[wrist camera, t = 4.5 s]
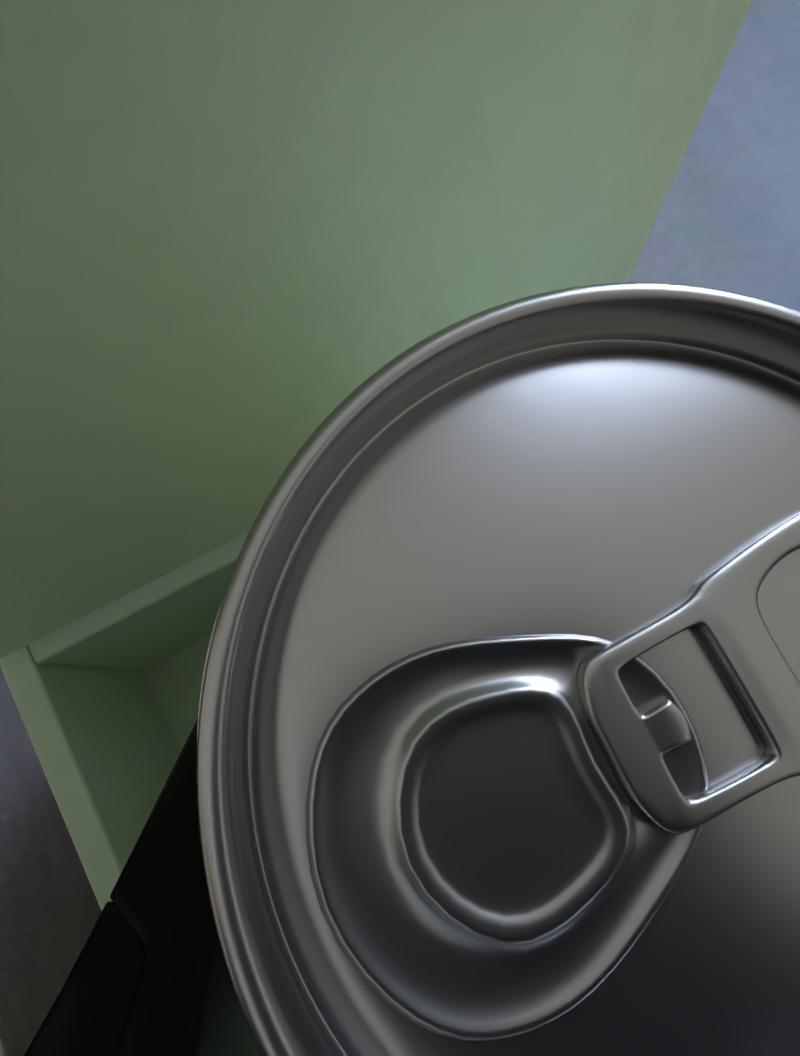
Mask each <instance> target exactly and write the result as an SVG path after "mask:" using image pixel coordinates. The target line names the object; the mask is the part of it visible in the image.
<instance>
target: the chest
mask: <svg viewBox="0 0 800 1056" xmlns="http://www.w3.org/2000/svg"><path fill="white" fill-rule="evenodd" d="M248 533H249V532H248ZM248 533H246V534H244V535H242V536H240V537H238V538H236V539H234V540H232V541H230V542H228V543H226V544H224V545H222V546H220V547H218V548H217V549H215V550H213V551H211V552H209V553H207V554H205V555H203V556H201V557H199V558H197V559H195V560H193V561H191V562H189V563H187V564H185V565H183V566H181V567H179V568H177V569H175V570H173V571H171V572H170V573H168V574H166V575H164V576H162V577H160V578H158V579H156V580H154V581H152V582H150V583H148V584H146V585H144V586H142V587H140V588H138V589H136V590H134V591H132V592H130V593H128V594H126V595H124V596H123V597H121V598H119V599H117V600H115V601H113V602H111V603H109V604H107V605H105V606H103V607H101V608H99V609H97V610H95V611H93V612H91V613H89V614H87V615H85V616H83V617H81V618H79V619H78V620H76V621H74V622H72V623H70V624H68V625H66V626H64V627H62V628H60V629H58V630H56V631H54V632H52V633H50V634H48V635H46V636H44V637H42V638H40V639H38V640H36V641H34V642H32V643H31V644H29V645H27V646H25V647H23V648H21V649H19V650H17V651H15V652H13V653H11V654H9V655H7V656H5V657H3V658H1V659H0V667H1V670H2V672H3V674H4V677H5V679H6V682H7V684H8V687H9V689H10V691H11V694H12V696H13V699H14V701H15V703H16V706H17V708H18V711H19V713H20V715H21V718H22V720H23V723H24V725H25V728H26V730H27V732H28V735H29V737H30V740H31V742H32V744H33V747H34V749H35V752H36V754H37V756H38V759H39V761H40V764H41V766H42V769H43V771H44V773H45V776H46V778H47V781H48V783H49V785H50V788H51V790H52V793H53V795H54V797H55V800H56V802H57V805H58V807H59V810H60V812H61V814H62V817H63V819H64V822H65V824H66V826H67V829H68V831H69V834H70V836H71V838H72V841H73V843H74V846H75V848H76V851H77V853H78V855H79V858H80V860H81V863H82V865H83V867H84V870H85V872H86V875H87V877H88V879H89V882H90V884H91V887H92V889H93V892H94V894H95V896H96V899H97V901H98V904H99V906H100V908H101V911H102V910H103V908H104V906H105V904H106V903H107V902H108V901H112V900H111V898H110V894H111V892H112V890H113V888H114V886H115V884H116V882H117V880H118V878H119V876H120V874H121V872H122V870H123V868H124V866H125V864H126V862H127V860H128V858H129V856H130V854H131V852H132V850H133V848H134V846H135V844H136V842H137V840H138V838H139V836H140V834H141V832H142V830H143V828H144V826H145V824H146V822H147V820H148V818H149V816H150V814H151V811H152V809H153V807H154V805H155V803H156V801H157V799H158V797H159V795H160V793H161V791H162V789H163V787H164V785H165V783H166V781H167V779H168V777H169V775H170V773H171V771H172V769H173V767H174V765H175V763H176V761H177V759H178V757H179V755H180V753H181V751H182V749H183V747H184V745H185V743H186V741H187V739H188V737H189V735H190V733H191V731H192V729H193V727H194V725H195V723H196V721H197V719H198V711H199V701H200V692H201V685H202V678H203V672H204V666H205V661H206V656H207V652H208V647H209V643H210V639H211V635H212V631H213V627H214V624H215V621H216V618H217V614H218V611H219V608H220V605H221V602H222V600H223V596H224V593H225V590H226V587H227V584H228V582H229V579H230V576H231V573H232V571H233V568H234V565H235V563H236V561H237V558H238V556H239V553H240V551H241V549H242V546H243V544H244V542H245V540H246V537H247V535H248ZM112 902H113V901H112Z"/></svg>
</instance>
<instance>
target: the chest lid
mask: <svg viewBox="0 0 800 1056" xmlns="http://www.w3.org/2000/svg"><path fill="white" fill-rule="evenodd" d="M752 1H753V0H0V659H1V658H3V657H5V656H7V655H9V654H11V653H13V652H15V651H17V650H19V649H21V648H23V647H25V646H27V645H29V644H31V643H32V642H34V641H36V640H38V639H40V638H42V637H44V636H46V635H48V634H50V633H52V632H54V631H56V630H58V629H60V628H62V627H64V626H66V625H68V624H70V623H72V622H74V621H76V620H78V619H79V618H81V617H83V616H85V615H87V614H89V613H91V612H93V611H95V610H97V609H99V608H101V607H103V606H105V605H107V604H109V603H111V602H113V601H115V600H117V599H119V598H121V597H123V596H124V595H126V594H128V593H130V592H132V591H134V590H136V589H138V588H140V587H142V586H144V585H146V584H148V583H150V582H152V581H154V580H156V579H158V578H160V577H162V576H164V575H166V574H168V573H170V572H171V571H173V570H175V569H177V568H179V567H181V566H183V565H185V564H187V563H189V562H191V561H193V560H195V559H197V558H199V557H201V556H203V555H205V554H207V553H209V552H211V551H213V550H215V549H217V548H218V547H220V546H222V545H224V544H226V543H228V542H230V541H232V540H234V539H236V538H238V537H240V536H242V535H244V534H246V533H248V532H249V531H250V529H251V527H252V525H253V523H254V521H255V519H256V517H257V515H258V513H259V512H260V510H261V508H262V506H263V504H264V502H265V501H266V499H267V497H268V496H269V494H270V492H271V491H272V489H273V487H274V486H275V484H276V482H277V481H278V479H279V478H280V476H281V475H282V473H283V472H284V470H285V469H286V467H287V466H288V464H289V463H290V461H291V460H292V459H293V457H294V456H295V455H296V453H297V452H298V451H299V449H300V448H301V447H302V445H303V444H304V443H305V442H306V440H307V439H308V438H309V437H310V436H311V434H312V433H313V432H314V431H315V430H316V428H317V427H318V426H319V425H320V424H321V423H322V422H323V421H324V420H325V419H326V417H327V416H328V415H329V414H330V413H331V412H332V411H333V410H334V409H335V408H336V407H337V406H338V405H339V404H340V403H341V402H342V401H343V400H344V399H345V398H346V397H347V396H348V395H349V394H350V393H351V392H353V391H354V390H355V389H356V388H357V387H358V386H359V385H360V384H362V383H363V382H364V381H365V380H366V379H368V378H369V377H370V376H371V375H373V374H374V373H375V372H376V371H377V370H379V369H380V368H381V367H383V366H384V365H385V364H387V363H388V362H390V361H391V360H392V359H394V358H395V357H396V356H398V355H399V354H401V353H403V352H404V351H406V350H407V349H409V348H410V347H412V346H413V345H415V344H417V343H418V342H420V341H422V340H423V339H425V338H427V337H429V336H430V335H432V334H434V333H436V332H438V331H440V330H442V329H444V328H445V327H447V326H449V325H451V324H454V323H456V322H458V321H460V320H462V319H464V318H467V317H469V316H471V315H474V314H476V313H479V312H481V311H484V310H486V309H489V308H492V307H495V306H498V305H500V304H503V303H506V302H510V301H513V300H517V299H520V298H523V297H527V296H531V295H535V294H539V293H544V292H549V291H554V290H559V289H564V288H571V287H578V286H586V285H596V284H609V283H628V281H629V279H630V277H631V274H632V272H633V270H634V268H635V265H636V263H637V261H638V259H639V256H640V254H641V252H642V249H643V247H644V245H645V243H646V240H647V238H648V236H649V234H650V231H651V229H652V227H653V225H654V222H655V220H656V218H657V216H658V213H659V211H660V209H661V207H662V204H663V202H664V200H665V198H666V195H667V193H668V191H669V189H670V186H671V184H672V182H673V180H674V177H675V175H676V173H677V171H678V168H679V166H680V164H681V161H682V159H683V157H684V155H685V152H686V150H687V148H688V146H689V143H690V141H691V139H692V137H693V134H694V132H695V130H696V128H697V125H698V123H699V121H700V119H701V116H702V114H703V112H704V110H705V107H706V105H707V103H708V101H709V98H710V96H711V94H712V92H713V89H714V87H715V85H716V83H717V80H718V78H719V76H720V73H721V71H722V69H723V67H724V64H725V62H726V60H727V58H728V55H729V53H730V51H731V49H732V46H733V44H734V42H735V40H736V37H737V35H738V33H739V31H740V28H741V26H742V24H743V22H744V19H745V17H746V15H747V13H748V10H749V8H750V6H751V4H752Z"/></svg>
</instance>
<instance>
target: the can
mask: <svg viewBox="0 0 800 1056" xmlns="http://www.w3.org/2000/svg"><path fill="white" fill-rule="evenodd" d="M197 806H198V819H199V832H200V842H201V849H202V857H203V865H204V872H205V877H206V883H207V889H208V894H209V900H210V904H211V908H212V913H213V917H214V922H215V926H216V930H217V934H218V938H219V941H220V945H221V949H222V952H223V956H224V960H225V963H226V966H227V969H228V972H229V975H230V978H231V981H232V984H233V987H234V990H235V993H236V996H237V998H238V1001H239V1003H240V1006H241V1009H242V1011H243V1014H244V1017H245V1019H246V1022H247V1024H248V1026H249V1029H250V1031H251V1033H252V1036H253V1038H254V1040H255V1042H256V1045H257V1047H258V1049H259V1052H260V1054H261V1056H800V312H799V311H796V310H793V309H790V308H787V307H784V306H781V305H778V304H775V303H771V302H768V301H764V300H761V299H757V298H753V297H749V296H745V295H741V294H736V293H731V292H726V291H721V290H716V289H709V288H703V287H696V286H687V285H678V284H664V283H609V284H596V285H586V286H578V287H571V288H564V289H559V290H554V291H549V292H544V293H539V294H535V295H531V296H527V297H523V298H520V299H517V300H513V301H510V302H506V303H503V304H500V305H498V306H495V307H492V308H489V309H486V310H484V311H481V312H479V313H476V314H474V315H471V316H469V317H467V318H464V319H462V320H460V321H458V322H456V323H454V324H451V325H449V326H447V327H445V328H444V329H442V330H440V331H438V332H436V333H434V334H432V335H430V336H429V337H427V338H425V339H423V340H422V341H420V342H418V343H417V344H415V345H413V346H412V347H410V348H409V349H407V350H406V351H404V352H403V353H401V354H399V355H398V356H396V357H395V358H394V359H392V360H391V361H390V362H388V363H387V364H385V365H384V366H383V367H381V368H380V369H379V370H377V371H376V372H375V373H374V374H373V375H371V376H370V377H369V378H368V379H366V380H365V381H364V382H363V383H362V384H360V385H359V386H358V387H357V388H356V389H355V390H354V391H353V392H351V393H350V394H349V395H348V396H347V397H346V398H345V399H344V400H343V401H342V402H341V403H340V404H339V405H338V406H337V407H336V408H335V409H334V410H333V411H332V412H331V413H330V414H329V415H328V416H327V417H326V419H325V420H324V421H323V422H322V423H321V424H320V425H319V426H318V427H317V428H316V430H315V431H314V432H313V433H312V434H311V436H310V437H309V438H308V439H307V440H306V442H305V443H304V444H303V445H302V447H301V448H300V449H299V451H298V452H297V453H296V455H295V456H294V457H293V459H292V460H291V461H290V463H289V464H288V466H287V467H286V469H285V470H284V472H283V473H282V475H281V476H280V478H279V479H278V481H277V482H276V484H275V486H274V487H273V489H272V491H271V492H270V494H269V496H268V497H267V499H266V501H265V502H264V504H263V506H262V508H261V510H260V512H259V513H258V515H257V517H256V519H255V521H254V523H253V525H252V527H251V529H250V531H249V533H248V535H247V537H246V540H245V542H244V544H243V546H242V549H241V551H240V553H239V556H238V558H237V561H236V563H235V565H234V568H233V571H232V573H231V576H230V579H229V582H228V584H227V587H226V590H225V593H224V596H223V600H222V602H221V605H220V608H219V611H218V614H217V618H216V621H215V624H214V627H213V631H212V635H211V639H210V643H209V647H208V652H207V656H206V661H205V666H204V672H203V678H202V685H201V692H200V701H199V711H198V727H197Z"/></svg>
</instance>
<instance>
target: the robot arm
mask: <svg viewBox="0 0 800 1056" xmlns="http://www.w3.org/2000/svg"><path fill="white" fill-rule="evenodd" d="M197 727H198V719H197V721H196V723H195V725H194V727H193V729H192V731H191V733H190V735H189V737H188V739H187V741H186V743H185V745H184V747H183V749H182V751H181V753H180V755H179V757H178V759H177V761H176V763H175V765H174V767H173V769H172V771H171V773H170V775H169V777H168V779H167V781H166V783H165V785H164V787H163V789H162V791H161V793H160V795H159V797H158V799H157V801H156V803H155V805H154V807H153V809H152V811H151V814H150V816H149V818H148V820H147V822H146V824H145V826H144V828H143V830H142V832H141V834H140V836H139V838H138V840H137V842H136V844H135V846H134V848H133V850H132V852H131V854H130V856H129V858H128V860H127V862H126V864H125V866H124V868H123V870H122V872H121V874H120V876H119V878H118V880H117V882H116V884H115V886H114V888H113V890H112V892H111V894H110V898H111V900H112V901H113V902H112V901H108V902H107V903H106V904H105V906H104V908H103V910H102V912H101V914H100V916H99V918H98V920H97V922H96V924H95V926H94V928H93V930H92V932H91V934H90V936H89V938H88V940H87V942H86V944H85V946H84V948H83V950H82V952H81V953H80V955H79V957H78V959H77V961H76V963H75V965H74V967H73V969H72V971H71V973H70V975H69V976H68V978H67V980H66V982H65V984H64V986H63V988H62V990H61V992H60V993H59V995H58V997H57V999H56V1000H55V1002H54V1004H53V1006H52V1007H51V1009H50V1011H49V1013H48V1014H47V1016H46V1018H45V1020H44V1021H43V1023H42V1025H41V1027H40V1028H39V1030H38V1032H37V1034H36V1036H35V1037H34V1039H33V1041H32V1043H31V1044H30V1046H29V1048H28V1050H27V1051H26V1053H25V1055H24V1056H261V1054H260V1052H259V1049H258V1047H257V1045H256V1042H255V1040H254V1038H253V1036H252V1033H251V1031H250V1029H249V1026H248V1024H247V1022H246V1019H245V1017H244V1014H243V1011H242V1009H241V1006H240V1003H239V1001H238V998H237V996H236V993H235V990H234V987H233V984H232V981H231V978H230V975H229V972H228V969H227V966H226V963H225V960H224V956H223V952H222V949H221V945H220V941H219V938H218V934H217V930H216V926H215V922H214V917H213V913H212V908H211V904H210V900H209V894H208V889H207V883H206V877H205V872H204V865H203V857H202V849H201V842H200V832H199V819H198V806H197Z"/></svg>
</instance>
